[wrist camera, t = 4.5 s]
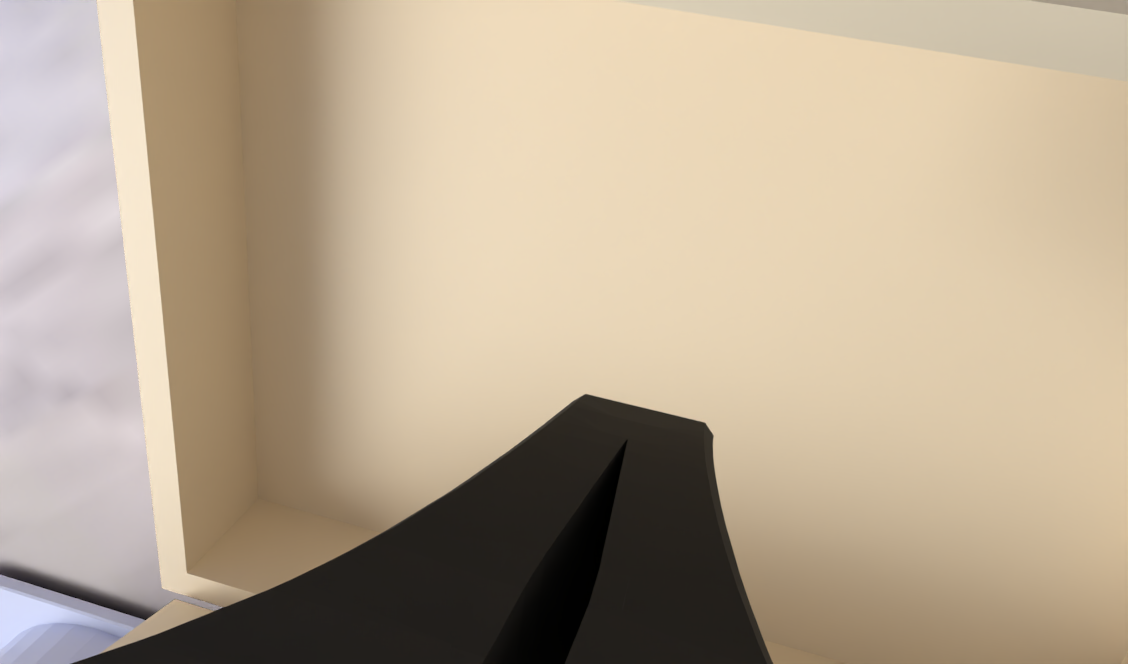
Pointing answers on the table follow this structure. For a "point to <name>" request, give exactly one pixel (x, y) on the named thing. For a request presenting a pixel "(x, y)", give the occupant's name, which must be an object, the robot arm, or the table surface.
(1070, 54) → the flap
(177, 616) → the flap
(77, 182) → the table surface
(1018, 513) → the carton
